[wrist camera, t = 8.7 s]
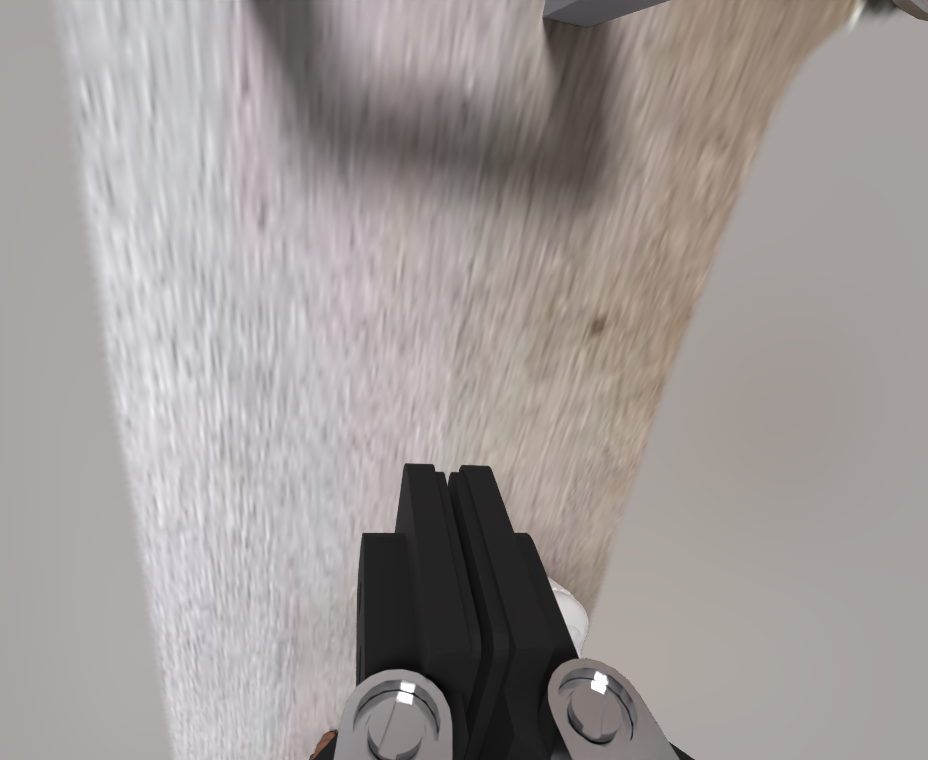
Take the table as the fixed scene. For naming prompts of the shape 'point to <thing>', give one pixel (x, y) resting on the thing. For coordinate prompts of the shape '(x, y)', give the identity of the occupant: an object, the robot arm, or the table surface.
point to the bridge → (593, 10)
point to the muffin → (572, 615)
